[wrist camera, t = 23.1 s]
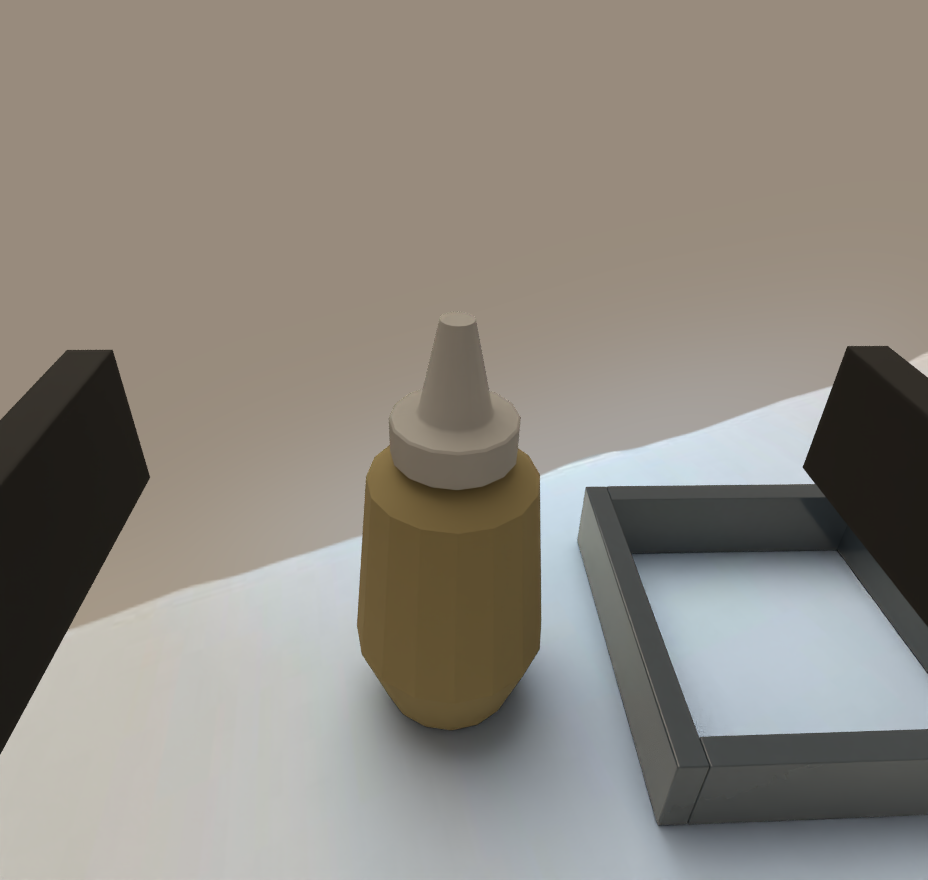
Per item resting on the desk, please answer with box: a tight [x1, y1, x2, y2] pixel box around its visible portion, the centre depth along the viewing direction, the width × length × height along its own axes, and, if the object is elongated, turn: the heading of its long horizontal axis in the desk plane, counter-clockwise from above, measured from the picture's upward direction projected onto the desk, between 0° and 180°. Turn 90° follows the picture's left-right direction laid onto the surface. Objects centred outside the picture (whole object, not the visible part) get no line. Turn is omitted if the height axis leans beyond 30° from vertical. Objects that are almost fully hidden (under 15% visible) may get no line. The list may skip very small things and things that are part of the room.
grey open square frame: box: [577, 484, 928, 825], centre depth 33 cm, size 16×16×4 cm
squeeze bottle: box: [357, 312, 541, 730], centre depth 27 cm, size 8×8×18 cm
